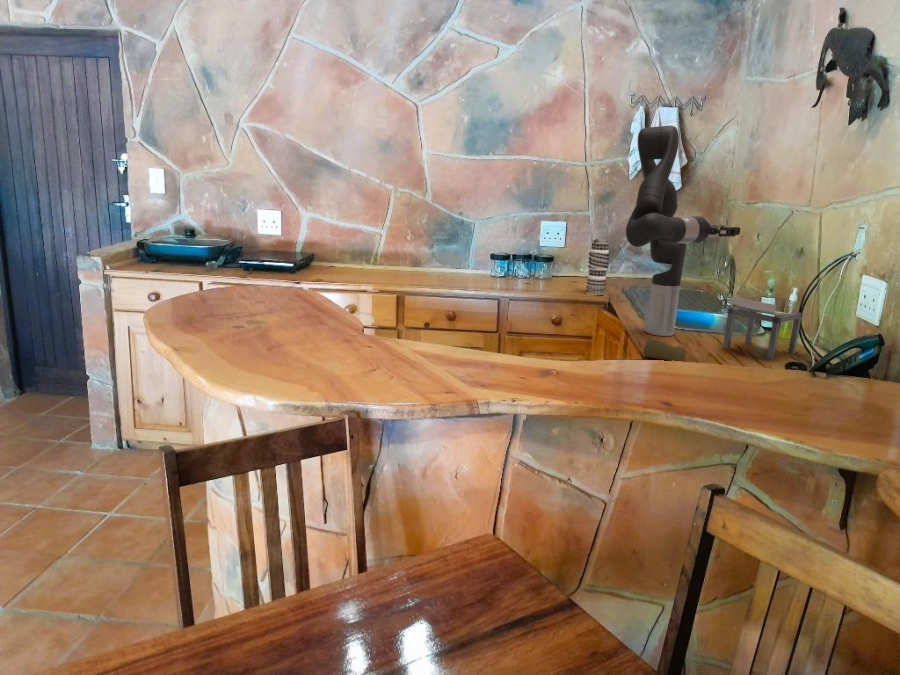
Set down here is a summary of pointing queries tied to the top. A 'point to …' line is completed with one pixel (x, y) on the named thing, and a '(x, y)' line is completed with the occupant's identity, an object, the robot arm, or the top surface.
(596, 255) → the striped stacked cylinder
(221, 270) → the top surface
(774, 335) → the grey miniature table
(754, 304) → the trapdoor
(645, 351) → the cork
